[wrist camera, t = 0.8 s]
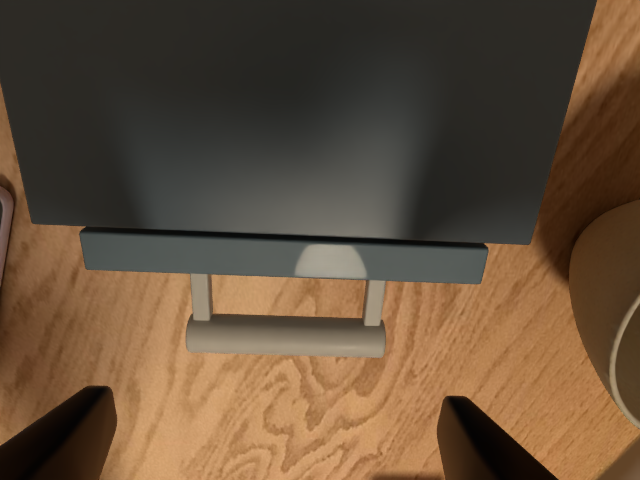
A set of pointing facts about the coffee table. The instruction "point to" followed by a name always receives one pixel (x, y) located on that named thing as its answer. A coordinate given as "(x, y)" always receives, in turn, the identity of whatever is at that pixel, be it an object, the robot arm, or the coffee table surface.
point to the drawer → (283, 261)
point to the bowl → (611, 302)
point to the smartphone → (4, 225)
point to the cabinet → (291, 113)
